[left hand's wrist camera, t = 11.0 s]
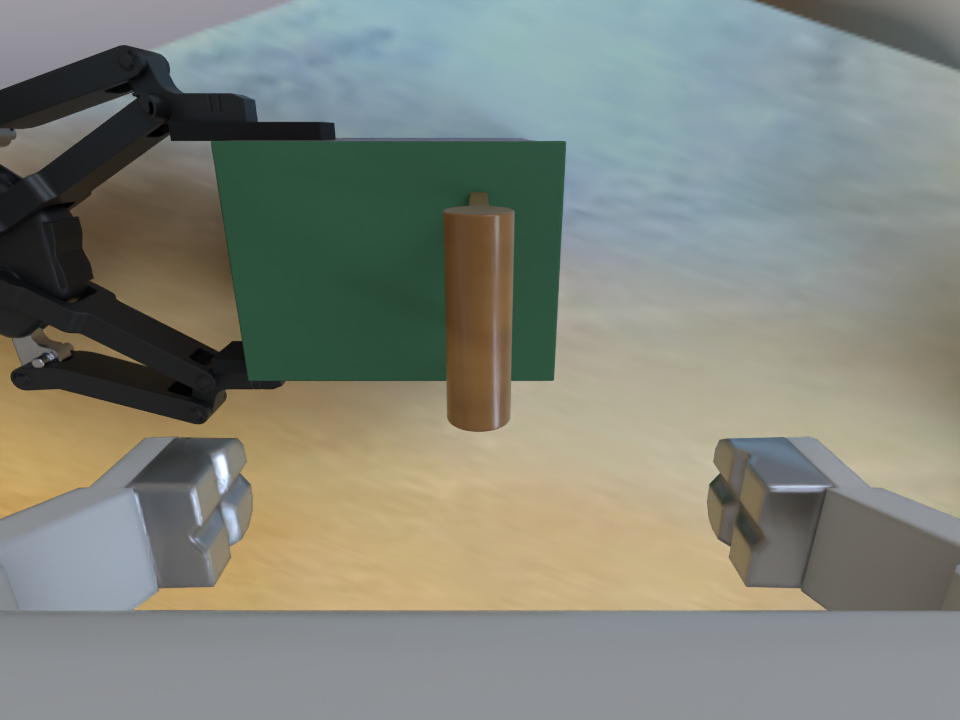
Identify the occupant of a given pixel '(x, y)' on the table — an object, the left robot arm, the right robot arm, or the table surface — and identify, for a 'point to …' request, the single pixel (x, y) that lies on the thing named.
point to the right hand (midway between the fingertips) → (338, 251)
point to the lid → (397, 263)
